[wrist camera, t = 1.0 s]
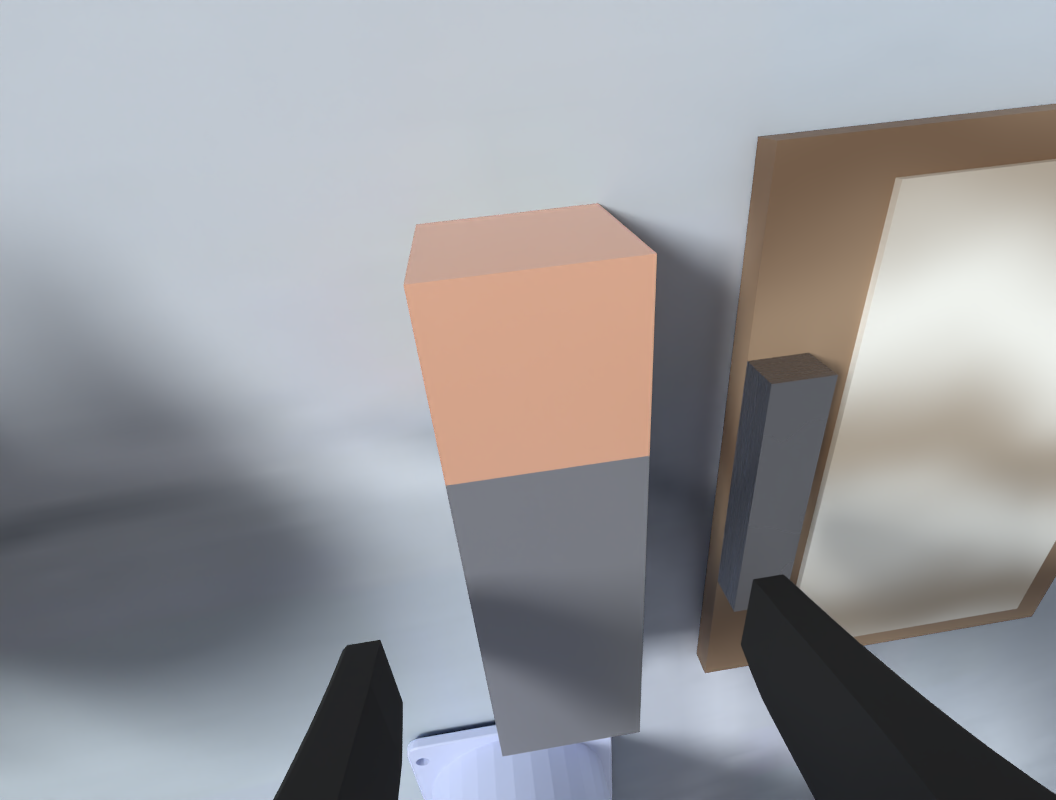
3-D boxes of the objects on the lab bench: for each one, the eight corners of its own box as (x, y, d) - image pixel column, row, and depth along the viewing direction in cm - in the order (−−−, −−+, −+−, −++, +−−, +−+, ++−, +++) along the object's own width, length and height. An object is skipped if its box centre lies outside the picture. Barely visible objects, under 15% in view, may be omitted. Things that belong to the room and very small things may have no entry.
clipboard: (1013, 599, 22) (1061, 643, 20) (696, 653, 21) (718, 704, 19) (1304, 76, 13) (1438, 76, 11) (758, 137, 12) (811, 147, 10)
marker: (606, 637, 20) (638, 753, 17) (496, 655, 20) (507, 777, 16) (597, 203, 12) (656, 253, 9) (415, 224, 12) (403, 284, 8)
